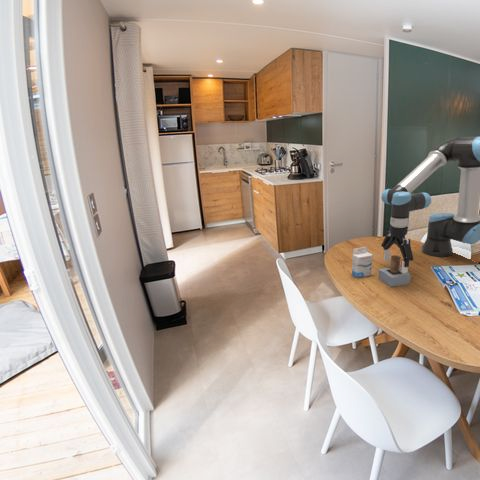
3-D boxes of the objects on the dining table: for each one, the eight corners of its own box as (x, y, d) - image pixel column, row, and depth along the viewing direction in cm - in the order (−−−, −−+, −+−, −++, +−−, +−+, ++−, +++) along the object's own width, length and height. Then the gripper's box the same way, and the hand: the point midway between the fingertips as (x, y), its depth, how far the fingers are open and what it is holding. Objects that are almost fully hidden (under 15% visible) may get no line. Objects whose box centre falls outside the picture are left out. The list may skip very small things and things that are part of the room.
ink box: (356, 278, 155) (358, 252, 150) (351, 274, 159) (352, 248, 155) (371, 275, 156) (373, 249, 152) (365, 271, 161) (367, 246, 156)
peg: (394, 276, 151) (396, 254, 147) (399, 280, 147) (402, 257, 143) (387, 277, 151) (389, 255, 146) (392, 281, 147) (394, 259, 143)
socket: (396, 274, 155) (397, 266, 153) (409, 283, 145) (410, 274, 144) (378, 277, 153) (379, 269, 152) (390, 287, 144) (391, 277, 142)
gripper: (375, 219, 151) (373, 258, 158) (410, 234, 127) (405, 279, 135) (389, 217, 152) (386, 256, 159) (426, 232, 128) (420, 276, 135)
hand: (394, 266), depth 147 cm, fingers open, 13 cm apart
